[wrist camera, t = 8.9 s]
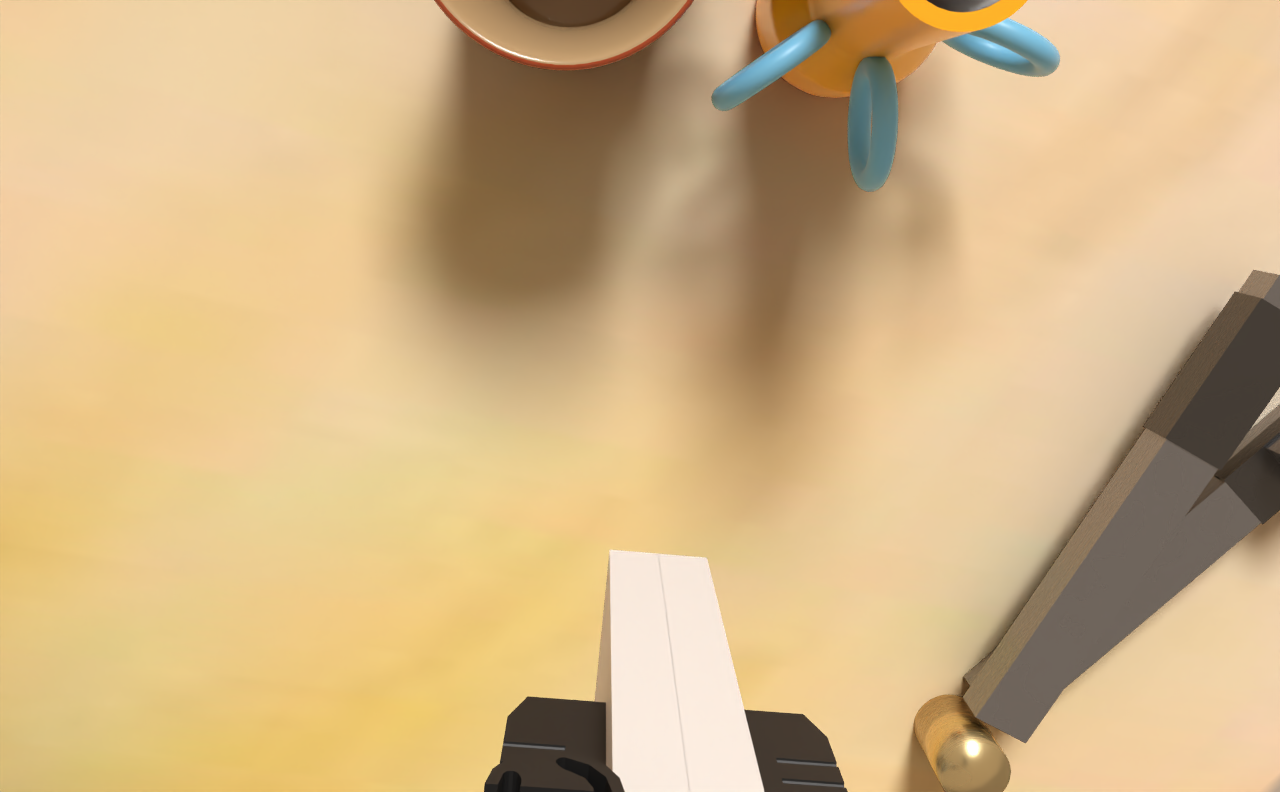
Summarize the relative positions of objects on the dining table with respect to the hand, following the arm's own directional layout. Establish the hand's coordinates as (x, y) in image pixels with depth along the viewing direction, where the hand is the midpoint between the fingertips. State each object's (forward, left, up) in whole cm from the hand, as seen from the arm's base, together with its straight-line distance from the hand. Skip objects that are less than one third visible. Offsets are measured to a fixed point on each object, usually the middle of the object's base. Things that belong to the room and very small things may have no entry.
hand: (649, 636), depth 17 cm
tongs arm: (+10, -19, -24) cm, 32 cm away
